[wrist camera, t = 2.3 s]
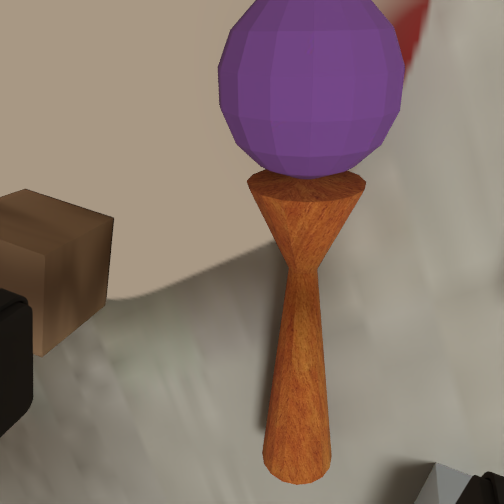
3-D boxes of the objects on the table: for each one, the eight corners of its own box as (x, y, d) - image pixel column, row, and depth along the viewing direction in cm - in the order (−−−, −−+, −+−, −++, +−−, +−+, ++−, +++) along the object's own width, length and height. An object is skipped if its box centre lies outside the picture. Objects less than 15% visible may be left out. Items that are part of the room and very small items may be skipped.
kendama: (212, 478, 22) (172, -20, 13) (267, 395, 27) (265, -12, 18) (336, 534, 20) (391, -32, 11) (373, 432, 24) (432, -19, 15)
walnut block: (106, 304, 25) (41, 357, 21) (24, 274, 26) (-54, 319, 22) (114, 217, 23) (44, 255, 19) (25, 188, 24) (-61, 218, 19)
